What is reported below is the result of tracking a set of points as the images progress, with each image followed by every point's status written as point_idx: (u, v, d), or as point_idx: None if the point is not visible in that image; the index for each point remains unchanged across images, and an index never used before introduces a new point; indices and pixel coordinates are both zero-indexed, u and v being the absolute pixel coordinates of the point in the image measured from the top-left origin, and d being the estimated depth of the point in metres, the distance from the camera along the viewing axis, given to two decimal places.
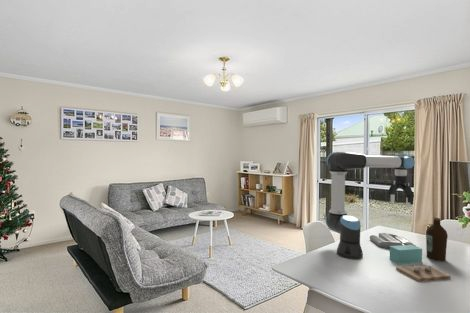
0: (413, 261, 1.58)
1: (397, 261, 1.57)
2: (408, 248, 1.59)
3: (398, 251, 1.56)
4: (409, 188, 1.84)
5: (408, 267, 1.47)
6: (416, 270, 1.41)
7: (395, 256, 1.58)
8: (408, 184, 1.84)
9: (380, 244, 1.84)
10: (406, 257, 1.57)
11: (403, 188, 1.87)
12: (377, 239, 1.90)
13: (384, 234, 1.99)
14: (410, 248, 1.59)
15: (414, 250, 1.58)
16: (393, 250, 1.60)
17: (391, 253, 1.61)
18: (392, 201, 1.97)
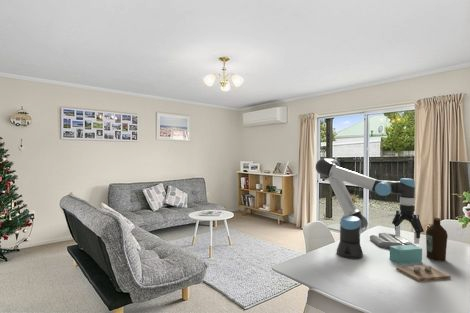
0: (413, 261, 1.58)
1: (397, 261, 1.57)
2: (408, 248, 1.59)
3: (398, 251, 1.56)
4: (418, 221, 1.53)
5: (408, 267, 1.47)
6: (416, 270, 1.41)
7: (395, 256, 1.58)
8: (417, 215, 1.54)
9: (380, 244, 1.84)
10: (406, 257, 1.57)
11: (410, 220, 1.56)
12: (377, 239, 1.90)
13: (384, 234, 1.99)
14: (410, 248, 1.59)
15: (414, 250, 1.58)
16: (393, 250, 1.60)
17: (391, 253, 1.61)
18: (397, 234, 1.67)
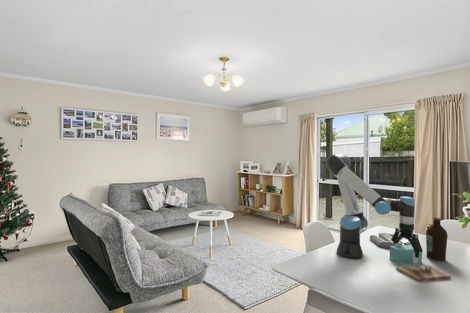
0: None
1: (397, 261, 1.57)
2: (408, 248, 1.59)
3: (398, 251, 1.56)
4: (417, 240, 1.53)
5: (408, 267, 1.47)
6: (416, 270, 1.41)
7: (395, 256, 1.58)
8: (416, 235, 1.54)
9: (380, 244, 1.84)
10: (406, 257, 1.57)
11: (409, 239, 1.56)
12: (377, 239, 1.90)
13: (384, 234, 1.99)
14: (410, 248, 1.59)
15: None
16: (393, 250, 1.60)
17: (391, 253, 1.61)
18: None
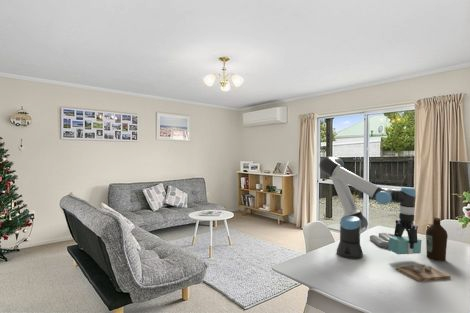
0: None
1: (396, 252, 1.57)
2: (407, 239, 1.59)
3: (397, 242, 1.56)
4: (415, 232, 1.54)
5: (408, 267, 1.47)
6: (416, 270, 1.41)
7: (394, 247, 1.59)
8: (416, 227, 1.54)
9: (380, 244, 1.84)
10: (405, 248, 1.57)
11: (408, 230, 1.57)
12: (377, 239, 1.90)
13: (384, 234, 1.99)
14: None
15: None
16: (392, 241, 1.60)
17: (390, 244, 1.62)
18: None
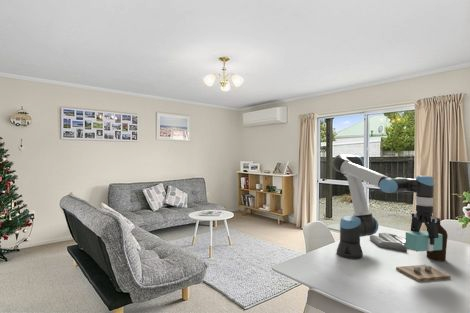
0: None
1: (414, 248, 1.39)
2: (427, 234, 1.41)
3: (416, 237, 1.38)
4: (435, 226, 1.36)
5: (408, 267, 1.47)
6: (416, 270, 1.41)
7: (412, 243, 1.40)
8: (436, 220, 1.36)
9: (380, 244, 1.84)
10: (425, 244, 1.39)
11: (427, 224, 1.39)
12: (377, 239, 1.90)
13: (384, 234, 1.99)
14: None
15: None
16: (410, 236, 1.42)
17: (407, 240, 1.43)
18: None
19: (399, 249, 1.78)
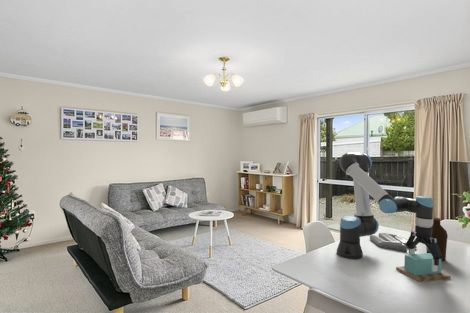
0: (431, 272, 1.40)
1: (413, 272, 1.39)
2: (426, 257, 1.41)
3: (415, 261, 1.38)
4: (436, 246, 1.35)
5: None
6: None
7: (411, 266, 1.40)
8: (435, 240, 1.36)
9: (380, 244, 1.84)
10: (423, 268, 1.39)
11: (428, 244, 1.39)
12: (377, 239, 1.90)
13: (384, 234, 1.99)
14: (427, 257, 1.41)
15: None
16: (409, 259, 1.42)
17: (406, 263, 1.43)
18: None
19: (399, 249, 1.78)
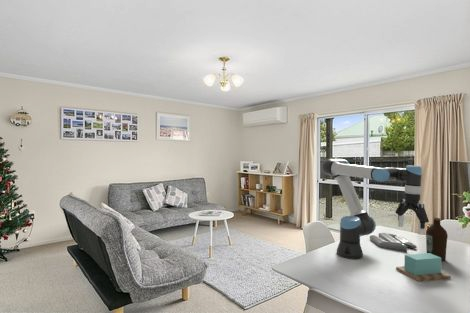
0: (431, 272, 1.40)
1: (413, 272, 1.39)
2: (426, 257, 1.41)
3: (415, 261, 1.38)
4: (423, 210, 1.44)
5: None
6: None
7: (411, 266, 1.40)
8: (422, 205, 1.45)
9: (380, 244, 1.84)
10: (423, 268, 1.39)
11: (415, 210, 1.47)
12: (377, 239, 1.90)
13: (384, 234, 1.99)
14: (427, 257, 1.41)
15: (432, 259, 1.40)
16: (409, 259, 1.42)
17: (406, 263, 1.43)
18: (400, 224, 1.58)
19: (399, 249, 1.78)
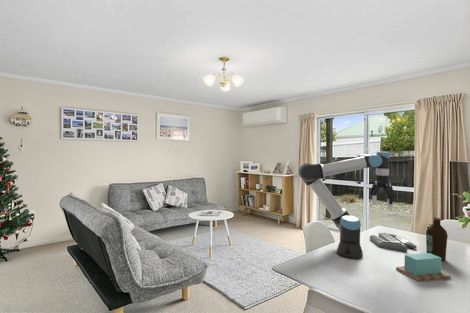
0: (431, 272, 1.40)
1: (413, 272, 1.39)
2: (426, 257, 1.41)
3: (415, 261, 1.38)
4: (391, 189, 1.70)
5: None
6: None
7: (411, 266, 1.40)
8: (390, 184, 1.71)
9: (380, 244, 1.84)
10: (423, 268, 1.39)
11: (384, 189, 1.73)
12: (377, 239, 1.90)
13: (384, 234, 1.99)
14: (427, 257, 1.41)
15: (432, 259, 1.40)
16: (409, 259, 1.42)
17: (406, 263, 1.43)
18: (374, 202, 1.84)
19: (399, 249, 1.78)
